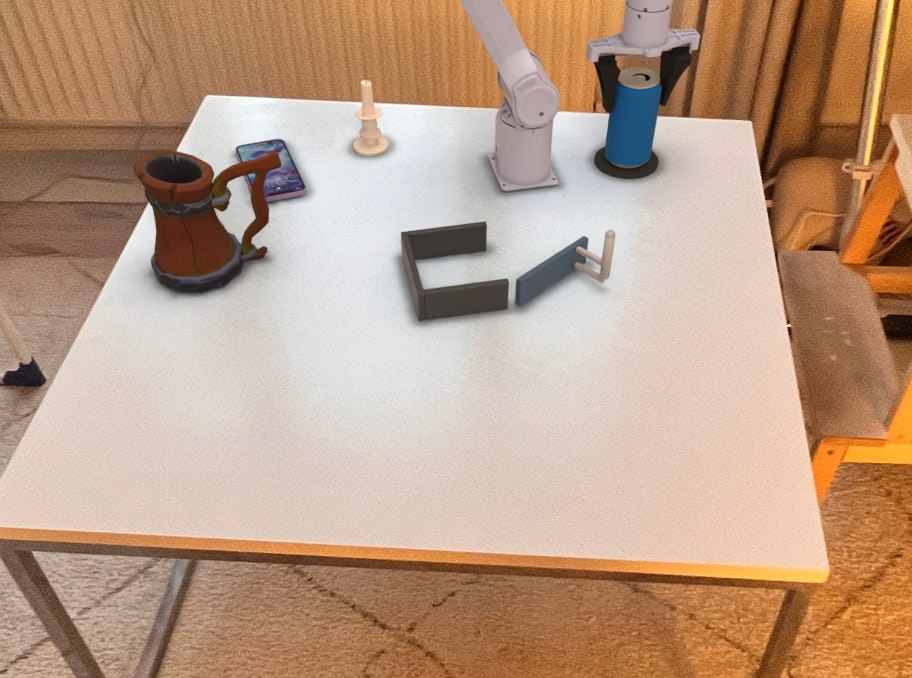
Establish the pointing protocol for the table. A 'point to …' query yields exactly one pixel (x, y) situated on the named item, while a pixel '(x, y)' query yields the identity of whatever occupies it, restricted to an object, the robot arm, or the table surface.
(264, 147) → the smartphone
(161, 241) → the mug
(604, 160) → the coaster
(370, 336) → the table surface
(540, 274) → the cooler door
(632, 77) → the beverage can
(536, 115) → the robot arm
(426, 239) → the dark grey u-shaped piece
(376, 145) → the candle
